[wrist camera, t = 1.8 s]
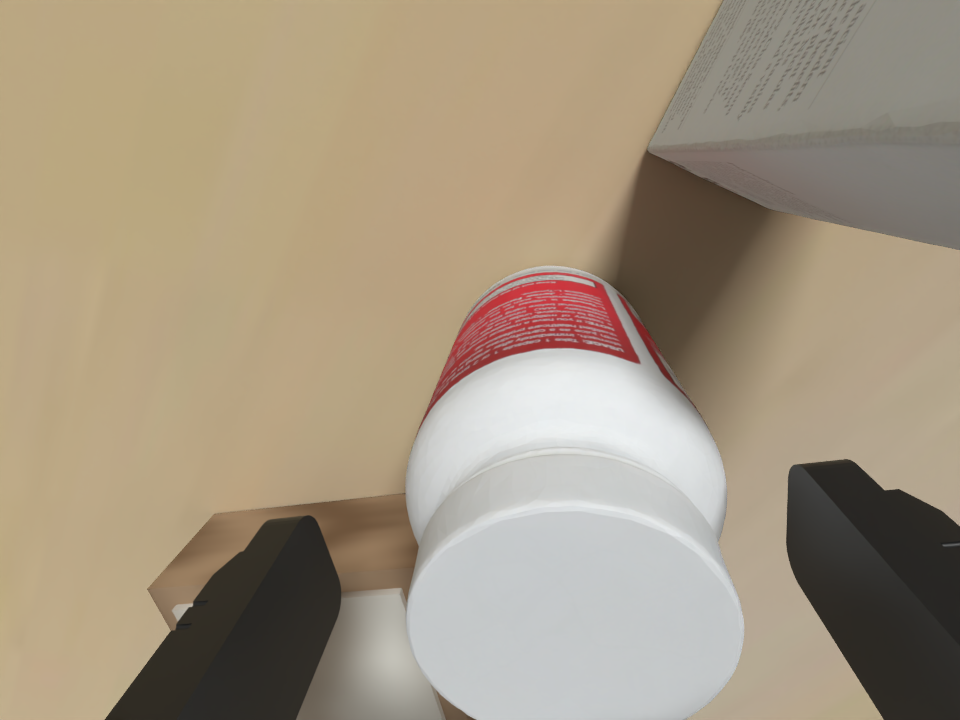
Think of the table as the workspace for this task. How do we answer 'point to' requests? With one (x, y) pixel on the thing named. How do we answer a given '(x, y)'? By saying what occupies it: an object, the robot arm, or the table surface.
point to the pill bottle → (567, 517)
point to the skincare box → (828, 112)
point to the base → (363, 612)
